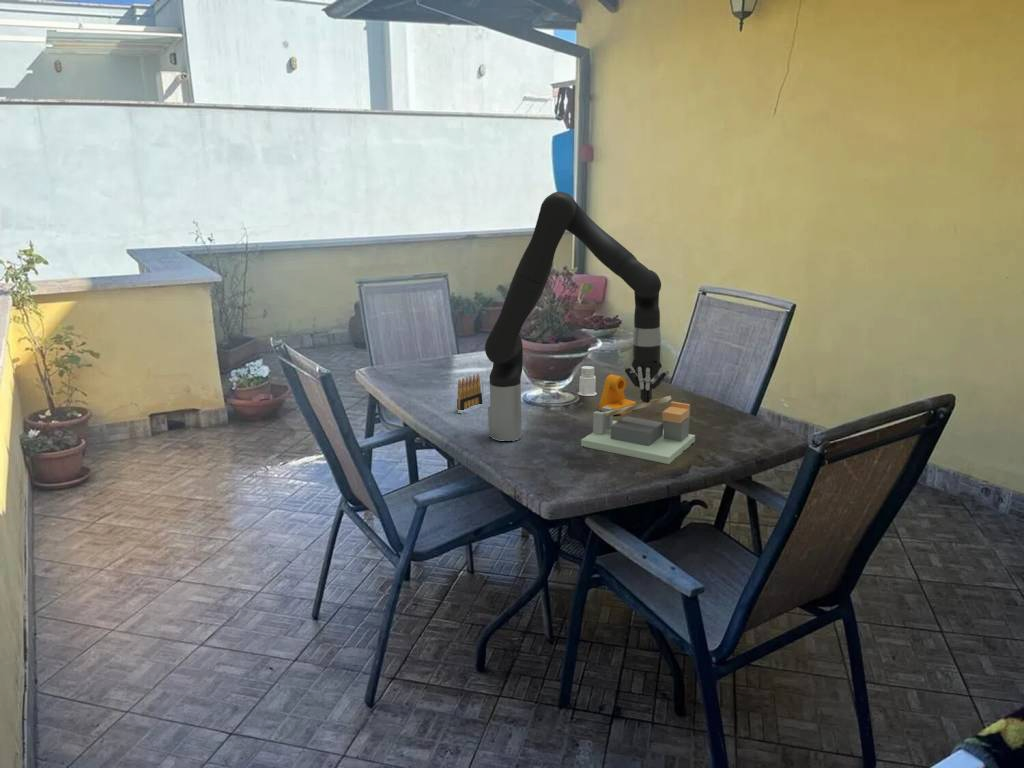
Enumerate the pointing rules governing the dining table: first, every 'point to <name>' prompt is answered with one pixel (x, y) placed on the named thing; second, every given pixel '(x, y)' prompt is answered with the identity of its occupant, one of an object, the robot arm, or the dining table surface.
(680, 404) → the block
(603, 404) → the bracket
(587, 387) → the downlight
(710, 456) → the dining table surface
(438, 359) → the dining table surface
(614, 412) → the strap
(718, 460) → the dining table surface
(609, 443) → the board
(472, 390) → the ammunition clip
